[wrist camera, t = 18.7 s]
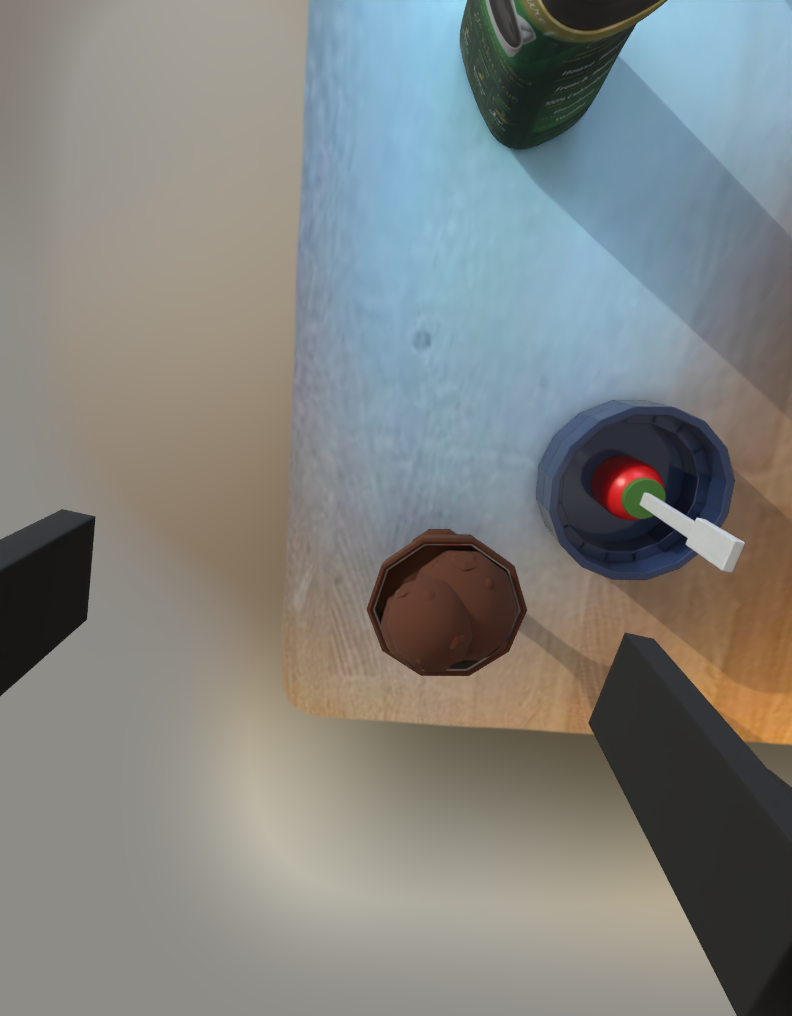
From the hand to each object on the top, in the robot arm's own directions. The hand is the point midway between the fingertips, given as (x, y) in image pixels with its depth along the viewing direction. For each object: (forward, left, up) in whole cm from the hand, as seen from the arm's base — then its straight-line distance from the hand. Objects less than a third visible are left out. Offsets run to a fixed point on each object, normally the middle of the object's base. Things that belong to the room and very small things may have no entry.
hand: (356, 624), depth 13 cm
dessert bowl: (+11, +16, -32) cm, 37 cm away
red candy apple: (+11, +16, -31) cm, 37 cm away
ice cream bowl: (+12, 0, -32) cm, 34 cm away
